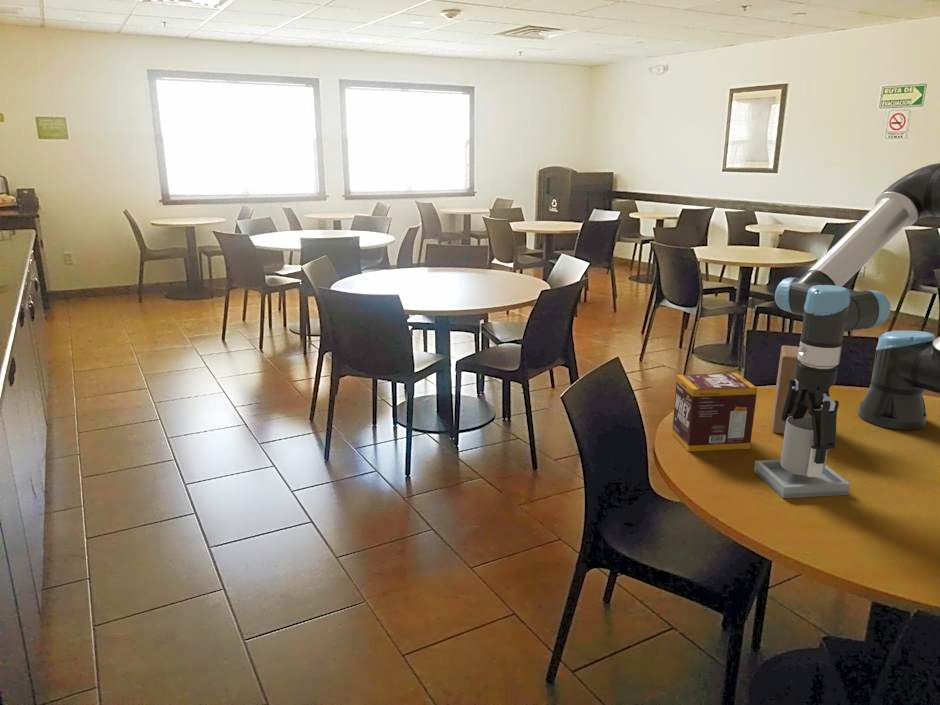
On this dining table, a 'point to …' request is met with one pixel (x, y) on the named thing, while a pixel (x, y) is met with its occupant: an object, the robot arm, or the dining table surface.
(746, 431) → the supplement box
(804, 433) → the cup
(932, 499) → the dining table surface
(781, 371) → the wooden block
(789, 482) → the tray
